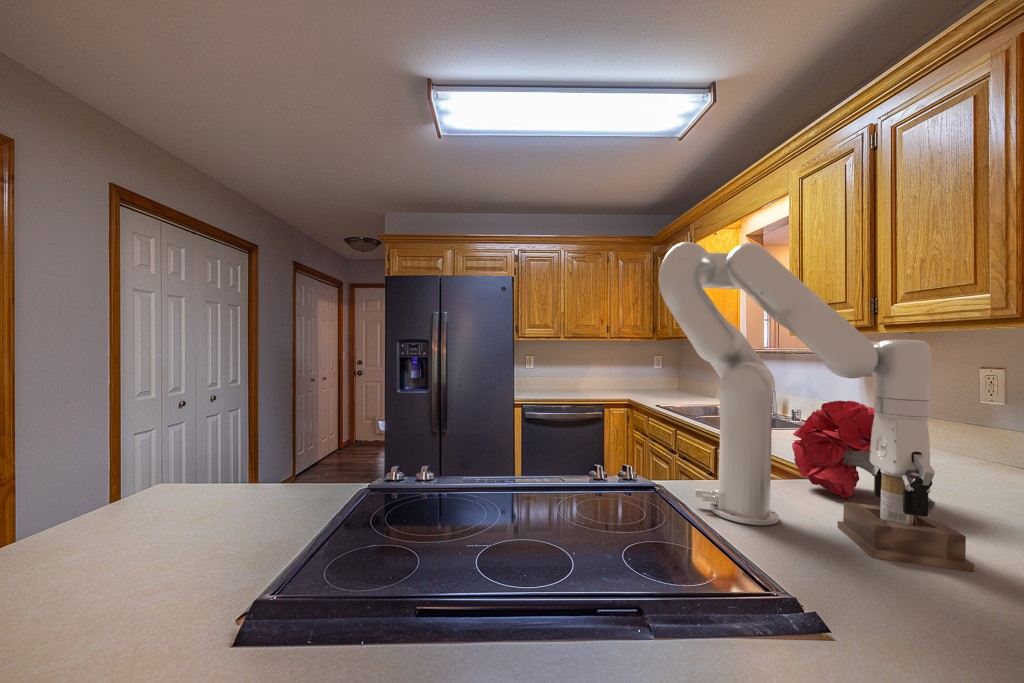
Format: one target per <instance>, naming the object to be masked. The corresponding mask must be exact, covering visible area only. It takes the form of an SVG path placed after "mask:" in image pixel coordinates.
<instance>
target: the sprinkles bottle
mask: <svg viewBox="0 0 1024 683" xmlns="http://www.w3.org/2000/svg"><path fill="white" fill-rule="evenodd" d="M881 472H882V473H881V475H882V486H881V497H880V506H881V507H880V518H881V520H883V521H884V522H890V523H898V524H906V525H912V524H913V515H907V514H905V513H904V512H903V489H905V490H907V489H906V486H905V483H904V480H903V478H902V475H901V474H900V475H898V476H895V475H892V474H890V473H887V472H886V471H884V470H882V469H881ZM911 481H912V483H913V481H914V479H912V478H911Z"/></svg>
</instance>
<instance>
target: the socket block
mask: <svg viewBox="0 0 1024 683" xmlns="http://www.w3.org/2000/svg"><path fill="white" fill-rule="evenodd" d="M880 507H881V505H874V504H873V505H872V504H866V503H865V504H864V503H855V502H847V501H843V520H841V521H840V520H838V521H837V528H838V529H839V530H840V531H841V532H843V533H844V535H846V536H847V538H849V539H850V540H851V541H852V542H853V543H855V544H856V545H857V546H858V547H859V548H860V549H862V551H864V552H865V553H866V554H867V555H868V556H869V557H871V558H875V559H881V560H890V561H894V562H895V561H896V562H903V563H910V564H915V565H917V564H918V565H922V566H923V565H924V566H931V567H936V568H937V567H938V568H945V569H951V570H958V571H966V572H972V573H974V572H975V564H974V563H973V562H971V561H970V560H968V559H966V556H967V555H966V554H967V553H966V549H967V548H966V546H967V536H966V535H965V534H963V533H961V532H959V531H958V530H955V529H953V528H952V527H950V526H948V525H947V524H945V523H943V522H941V521H939V520H938V519H936V518H934V517H933V516H930V515H929V514H928V516H926V517H924V516H915V515H913V524H912V525H906V524H898V523H890V522H884V521H883V520H881V518H880Z"/></svg>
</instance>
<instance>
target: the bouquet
mask: <svg viewBox="0 0 1024 683" xmlns="http://www.w3.org/2000/svg"><path fill="white" fill-rule="evenodd" d="M820 406H821V408H820V409H816V410H814V411H812V413H811V415H809V416H808V417H807V418H806V420H805V422H804V424H802V425H801V426H799V428H798V429H797V430H795V431H794V433H792V435H793V436H794V437H796V438H799V439H793V442H792V443H791V449H792V451H793V455H794V460H793V461H794V463H795V465H796V467H797V470H798V472H799V474H800V476H802V477H805V478H808V480H809V483H811V484H812V485H815V486H818V485H819V486H820V487H822V488H824V489H826V490H828V491H830V492H831V493H833V494H836V495H838V496H840V497H841V498H844V499H848V498H851V496H852V495H854V489H855V488H856V487H857V485H858V482H859V481H860V475H859V471H858V470H857V468H861V469H862V470H864V471H866V472H868V473H869V474H870V475H872V476H873V477H874V475H878V474H874V471H873V470H874V467H875V466H874V465H872V464H871V462H870V445H871V433H872V426H873V421H874V416H875V415H874V407H870V406H868V407H867V405H865V404H863V403H860V402H857V401H854V400H846V401H845V400H834V401H828V402H825V403H822V404H821V405H820ZM935 505H936V502H935V501H933V500H932V499H931V498H930V497H929V496H928V513H930V512H931V511H932V510H933V509H934V507H935Z"/></svg>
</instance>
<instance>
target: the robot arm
mask: <svg viewBox="0 0 1024 683" xmlns="http://www.w3.org/2000/svg"><path fill="white" fill-rule="evenodd" d="M658 286H659V287H658V288H659V291H660V294H661V297H662V299H663V301H664V303H665V305H666V307H667V308H668V310H669V312H670V313H671V315H672V316H673V318H674V319H675V321H676V322H677V324H678V325H679V327H680V328H681V330H682V332H683V334H685V337H686V338H687V339H688V341H689V342H690V344H691V345H692V347H693V348H694V350H695V352H696V354H697V355H698V356H699V357H700V358H701V359H703V361H706V362H708V363H709V364H710V365H711V367H712V368H713V369H714V371H715V372H716V373H717V375H718V377H719V378H720V382H719V388H718V390H719V392H718V395H719V455H718V456H719V457H718V459H719V460H718V461H719V462H718V485H714V488H710V490H707V489H703V488H694V496H693V497H694V498H696V499H701V501H703V502H710V503H709V509H710V511H711V512H712V514H714V515H715V516H718V517H720V518H723V519H725V520H728V521H732V522H736V523H740V524H745V525H752V526H772V525H775V524H777V523H778V522H779V514H778V512H776V511H775V510H774V509H772V508H771V481H772V480H771V475H772V472H771V471H772V434H773V433H772V431H773V430H772V425H773V394H774V391H775V387H776V384H775V378H774V375H773V373H772V372H771V370H770V369H769V367H768V366H767V365H766V363H765V361H763V360H762V358H761V357H760V355H759V354H758V353H757V351H756V350H755V349H754V347H753V346H752V344H750V342H749V340H748V339H747V338H746V337H745V335H744V334H743V333H742V331H740V329H739V328H738V327H737V326H735V325H733V324H732V323H730V322H729V321H728V320H727V319H726V318H725V316H724V315H723V314H722V313H721V312H720V310H719V309H718V307H717V306H716V305H715V303H714V301H713V300H712V299H711V298H710V296H709V295H708V293H707V292H706V291H705V289H725V290H727V289H728V290H742V291H743V292H745V293H746V295H747V296H748V297H750V299H752V300H753V301H754V302H755V303H756V305H758V306H759V307H760V308H761V309H762V310H763V311H764V312H765V313H766V314H767V315H768V316H769V317H771V319H772V320H774V321H775V322H776V323H777V324H778V325H780V326H782V327H783V328H785V329H787V330H788V331H789V332H791V333H792V335H794V336H795V337H796V338H797V339H798V340H800V341H801V342H802V343H803V344H804V345H805V346H806V347H807V348H808V349H809V350H810V351H812V353H814V355H815V356H816V357H818V359H819V360H820V361H822V362H823V364H825V367H826V368H827V369H828V370H829V371H830V372H831V373H833V374H834V375H835V376H839V377H841V378H844V379H860V378H863V377H874V387H873V388H874V390H873V408H874V415H875V416H874V421H873V426H872V433H871V445H870V462H871V464H872V465H874V466H875V467H874V470H873V471H874V474H878V475H874V476H873V481H874V482H873V483H874V484H873V488H874V489H873V495H874V496H875V497H877V498H881V486H882V475H881V473H882V472H881V469H882V470H884V471H886V472H887V473H890V474H892V475H895V476H898V475H900V474H901V475H902V478H903V480H904V483H905V486H906V489H907V490H905V489H903V512H904V513H905V514H907V515H915V516H924V517H926V516H928V515H929V512H928V497H929V494H930V493H931V487H932V486H933V479H934V476H935V474H936V472H935V470H934V468H933V467H932V466H931V444H930V433H929V427H928V426H929V424H928V421H930V419H931V417H930V415H931V377H932V376H931V373H932V372H931V370H932V368H931V367H932V366H931V365H932V364H931V363H932V362H931V361H932V350H931V346H930V344H929V343H928V342H926V341H924V340H919V339H884V340H880V341H871V340H870V339H868V338H867V337H866V336H865V335H864V334H863V333H862V332H860V331H859V330H858V329H857V328H856V327H855V326H854V325H852V324H851V323H850V322H849V321H848V320H847V319H846V318H844V317H843V316H842V315H841V314H840V313H839V312H837V310H835V309H834V308H833V307H831V305H829V304H828V303H827V302H825V301H824V300H823V299H822V298H821V297H820V296H819V294H817V293H815V291H813V290H812V289H811V288H809V286H808V285H806V284H805V283H804V282H803V281H801V280H800V279H799V278H798V277H797V276H796V275H795V274H793V273H792V271H790V270H789V269H788V268H787V267H786V266H785V265H784V264H782V263H781V262H780V261H779V260H778V259H777V258H776V257H774V255H773V254H771V253H770V252H769V251H768V250H767V249H766V248H764V247H763V246H760V245H759V244H757V243H753V242H746V243H742V244H739V245H737V246H735V247H734V248H733V249H732V250H731V251H730V252H708V250H706V249H705V247H703V246H702V245H700V244H699V243H695V242H693V241H692V242H691V241H684V242H680V243H677V244H675V245H674V246H672V247H671V248H670V249H669V251H668V252H667V253H666V254H665V256H664V257H663V260H662V262H661V264H660V268H659V271H658ZM911 478H912V479H913V483H912V481H911Z"/></svg>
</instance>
